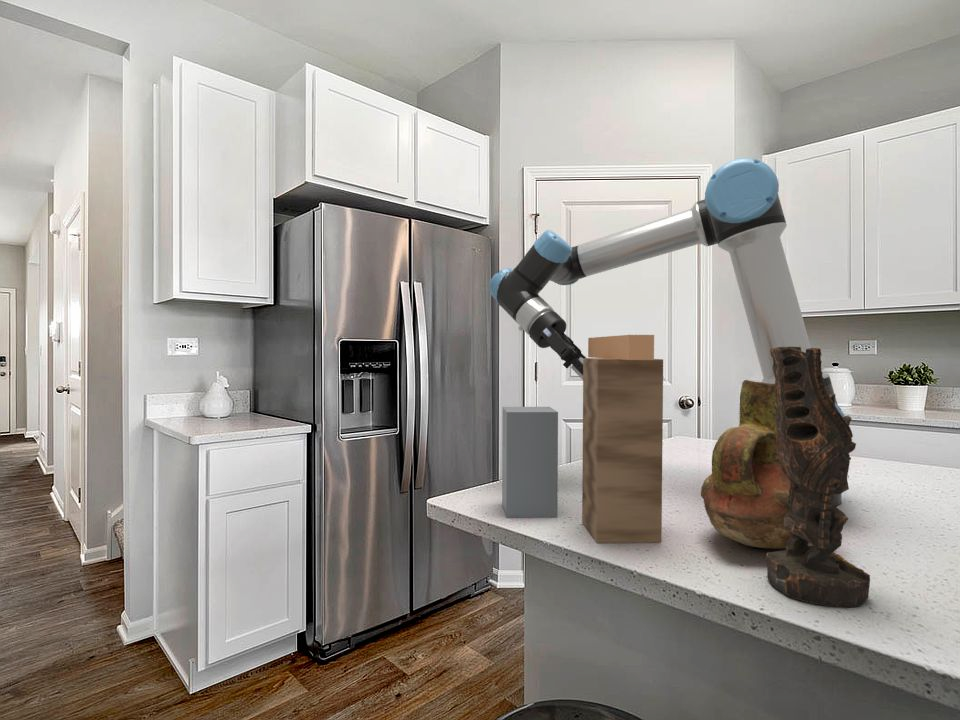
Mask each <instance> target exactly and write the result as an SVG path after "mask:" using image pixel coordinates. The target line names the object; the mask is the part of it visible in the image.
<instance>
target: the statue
mask: <svg viewBox="0 0 960 720" xmlns="http://www.w3.org/2000/svg"><path fill="white" fill-rule="evenodd" d="M821 351H822V348H817V347H811V348H809V349H806V353H805V352H803V351H801V347H776V348H774V349H772V348H771V349H770V354H771V356H772V358H773V372H774V375H775V385H776V388H777V389H776V393H777V401H776V403H777V411H778V412H777V413H776V415H775V422H776V426H777V435H776V446H777V454H778V458H779V462H780V466H781V468H782V471H783V473H784V475H785V476H786V477H787V478H788V479H789V480H790V481H791V482H790V486H791V488H790V489H789V494H790V495H789V496H788V509H787V514H786V515H785V517H784V526H785V527H786V529H787V530H788V531H789V532H790V537H789V541H788V544H787V546H786V549H782V550H779V551H777V550H776V551H772V552H767V553H766V556H765V558H766V559H765V560H766V565H767V566H766V567H767V568H766V569H767V572H766V573H767V576H766V577H767V579H768V581H769V582H770V584H771V585H772V586H773V587H774V588H776V589H777V590H779V592H781V593H782V594H785V595H786V596H789V597H790V598H793V599H796V600H798V601H799V600H800V601H802V602H806V603H810V604H815V605H819V606H820V605H821V606H828V607H840V608H856V607H859V606H862V605H863V604H864V603H865V602H866V601H868V599H869V593H870V587H871V586H870V585H871V575H870V574H869V573H867V572H865V570H863V569H861V568H860V567H858V566H856V565H854V564H853V563H851V562H848V560H846V559H845V558H844V557H843V556H841V555H840V554H838V553H836V550H838V549H839V548H840V547H842V541H843V533H842V532H843V529H844V526H845V524H846V523H847V522H848V520H849V518H848V517H847V515H846V514H845V513H844V512H843V511H842V510H840V508H838V507H836V506H834V505H833V504H831V503H830V502H829V501H830V499H831V501H832V500H833V498H834V497H833V495H834V494H841V495H842V493H845V492H847V491H848V490H849V488H850V487H849V482H848V478H849V477H850V475H849V469H850V464H851V459H852V457H851V456H850V453H852V452H853V451H854V450H855V449H856V446H857V443H856V442H854V441H853V437H854V434H853V431H852V429H851V426H850V423H851V421H852V417H851V416H849V415H845V417H842V415H841V414H840V412H839V411H838V409H837V408H836V406H835V397H836V393H834V394H828V392H827V389H826V387H825V384H824V381H823V380H824V378H823V376H822V374H823V372H822V371H823V370H822V363H823V362H822V359H821V358H822V352H821ZM821 370H822V371H821ZM830 495H832V498H831V497H830ZM810 544H811V545H810Z"/></svg>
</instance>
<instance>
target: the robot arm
mask: <svg viewBox="0 0 960 720" xmlns="http://www.w3.org/2000/svg"><path fill="white" fill-rule="evenodd" d="M779 185H780V184H779V179H778V177H777V175H776V173H775V172H774V170H773V169H772V167H770V166H769V165H768V164H767V163H765V162H764V161H761V160H759V159H755V158H750V157H749V158H748V157H745V158H736V159H733V160H730V161H728V162H726V163H724V164H723V165H721V166H720V167H718V169H716V170H715V171H714V173H713V174H712V175H711V176H710V178H709V180H708V182H707V185H706V188H705V192H704V199H701V200H699V201H696V202H694V204H693V206H692V207H691V208H690V209H686V210H682V211H680V212H677V213H673V214H670V215H668V216H664V217H661V218H659V219H656V220H655V219H654V220H653V221H648V222H647V223H643V224H639V225H636V226H634V227H630V228H627V229H624V230H621V231H618V232H615V233H611V234H608V235H606V236H603V237H599V238H596V239H593V240H590V241H587V242H586V241H585V242H583V243H581V244H577V245H575V246H571V245H570V244H569V243H568V242H566V241H565V240H564V239H563V238H562V236H560V235H558V234H557V233H556V232H554V231H553V230H550V229H546V230H545V231H544V232H543V233H542V234H541V235H540V236H539V237H538V238H537V239H536V240H534V243H533V245H532V246H531V247H530V248H529V250H528V251H527V252H526V253H525V254H524V256H523V257H522V259H521V260H520V261H519V263H518V264H516V266H515V267H514V268H513V269H512V268H509V267H505V268H502V269H501V270H499V272H498V273H495V274H494V275H493V276H492V278H491V279H490V281H489V284H488V291H489V293H490V295H491V296H492V298H493V299H494V300H495V302H496V303H497V304H498V305H499V306H500V307H501V308H502V309H503V310H504V311H505V312H506V313H507V314H508V316H510V317H511V318H512V319H513V321H515V323H516V324H517V325H518V330H519V331H521V332H522V331H524V332H525V333H526V334H527V335H528V336H529V338H530V339H531V340H532V341H533V342H534V343H535V344H536V345H537V347H538V348H541V349H546V348H550V349H551V350H552V351H554V352H555V353H556V354H557V355H558V356H559V357H560V359H561V361H564V363H563V364H562V366H564V368H566V369H569V368H570V369H572V371H573V372H574V373H575V374H576V375H577V376H578V377H579V378H580V379H581V380H582V381H583V358H587V357H586V356H585V355H584V354H583V353H582V350H581V349H580V348H579V347H578V346H577V345H576V344H575V343H574V341H573V340H572V338H570V337H569V336H568V335H567V334H566V333H565V332H566V331H567V322H566V321H565V319H563V317H561V315H560V314H558V313H557V312H556V311H555V310H554V309H553V307H552V306H551V305H550V304H549V303H548V302H547V301H546V300H545V299H544V298H543V297H542V296H540V295H539V293H540V292H541V291H542V290H543V289H544V288H545V287H546V286H547V284H548V283H549V282H553V283H555V284H557V285H560V286H570V285H573V284H575V283H577V282H578V281H579V280H581V279H584V278H587V277H590V276H593V275H596V274H599V273H600V274H601V273H604V272H606V271H607V272H608V271H610V270H614V269H618V268H620V267H621V268H622V267H624V266H628V265H631V264H634V263H638V262H641V261H645V260H649V259H652V258H656V257H659V256H662V255H665V254H669V253H673V252H676V251H678V250H683V249H686V248H690V247H693V246H696V245H702V246H705V247H710V246H714V245H717V247H718V248H720V249H721V250H724V251H725V252H728V253H729V256H730V260H731V264H732V267H733V270H734V274H735V279H736V282H737V286H738V291H739V292H740V297H741V300H742V304H743V308H744V311H745V315H746V319H747V323H748V326H749V330H750V334H751V336H752V337H751V338H752V341H753V344H754V348H755V351H756V356H757V359H758V362H759V366H760V370H761V374H762V381H761V382H763V383H770V384H774V383H775V375H774V372H773V358H772V356H771V354H770V349H771V348H772V349H774V348H776V347H801V351H803V352H805V353H806V349H809V348H812V346H811V342H810V339H809V335H808V333H807V329H806V325H805V321H804V317H803V314H802V311H801V307H800V303H799V301H798V297H797V292H796V290H795V286H794V282H793V279H792V276H791V272H790V268H789V264H788V261H787V258H786V254H785V251H784V247H783V243H782V240H781V236H782V234H783V233H784V231H785V229H786V228H787V226H788V225H787V221H786V217H785V214H784V210H783V207H782V203H781V200H780V196H779V187H780V186H779ZM821 371H822V372H823V374H822V376H823V378H824V380H823V381H824V384H825V387H826V389H827V392H828V394H835V391H834V387H833V384H832V381H831V377H830V374H829V373H827V372H826V371H824V370H822V369H821ZM835 406H836V408H837V409H838V411H839V412H840V414H841V415H842V417H845V416H846V415H845V413H844V412H843V411H842V409H841V407H840V406H839V403H838V401H837V398H836V396H835ZM830 497H831V498H832V495H830ZM833 497H834V498H833V500H832V501H831V499H830V503H831V504H833V505H834V506H835V507H836V506H839V505H840V504H842V493H841V494H834V495H833Z"/></svg>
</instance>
